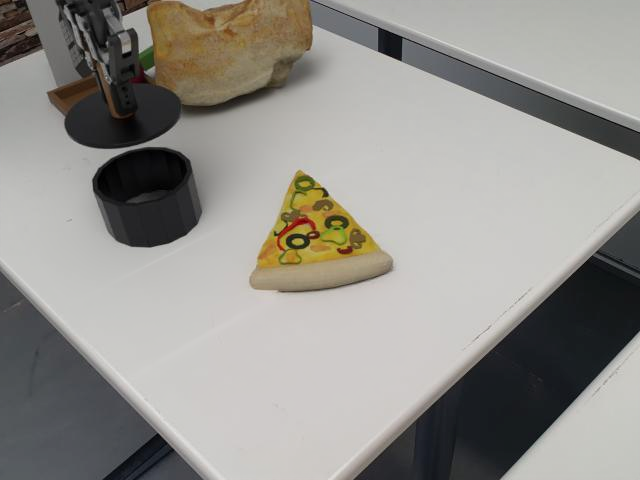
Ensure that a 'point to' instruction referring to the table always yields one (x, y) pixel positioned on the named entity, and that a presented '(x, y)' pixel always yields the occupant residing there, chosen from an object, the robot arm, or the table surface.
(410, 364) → the table surface
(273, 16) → the bread loaf
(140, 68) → the beet
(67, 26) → the robot arm
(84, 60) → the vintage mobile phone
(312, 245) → the pizza slice
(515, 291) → the table surface
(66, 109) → the tray
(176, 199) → the pot
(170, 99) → the lid
